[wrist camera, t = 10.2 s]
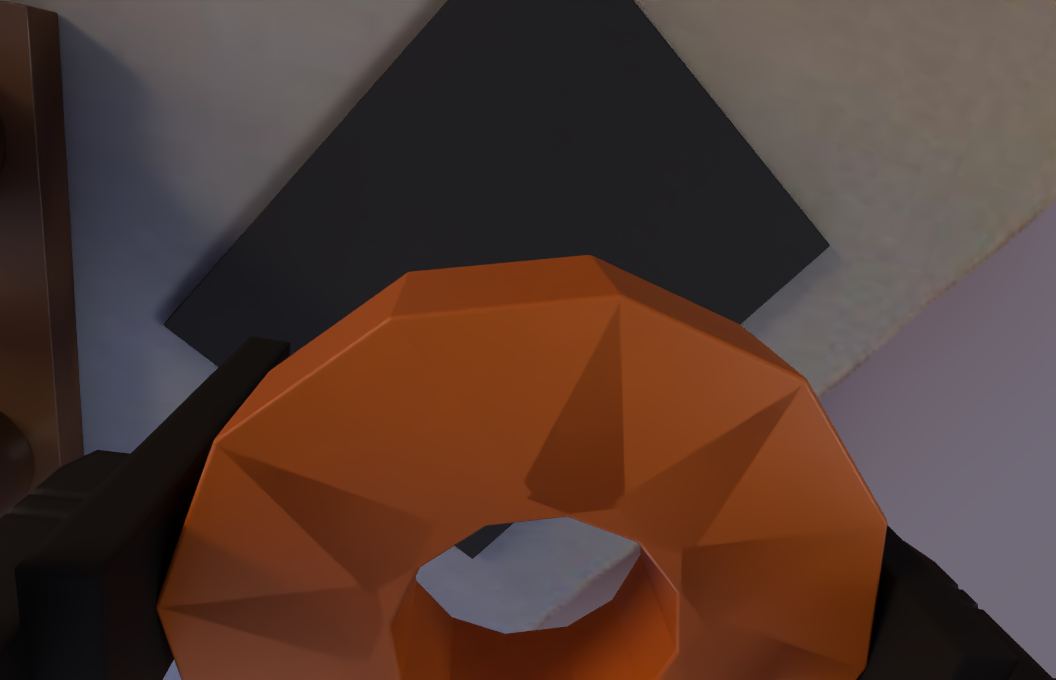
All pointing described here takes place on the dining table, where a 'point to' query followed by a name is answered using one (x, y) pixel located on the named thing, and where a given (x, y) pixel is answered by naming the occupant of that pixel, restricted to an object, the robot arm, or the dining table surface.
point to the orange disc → (527, 491)
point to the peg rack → (34, 261)
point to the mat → (512, 180)
